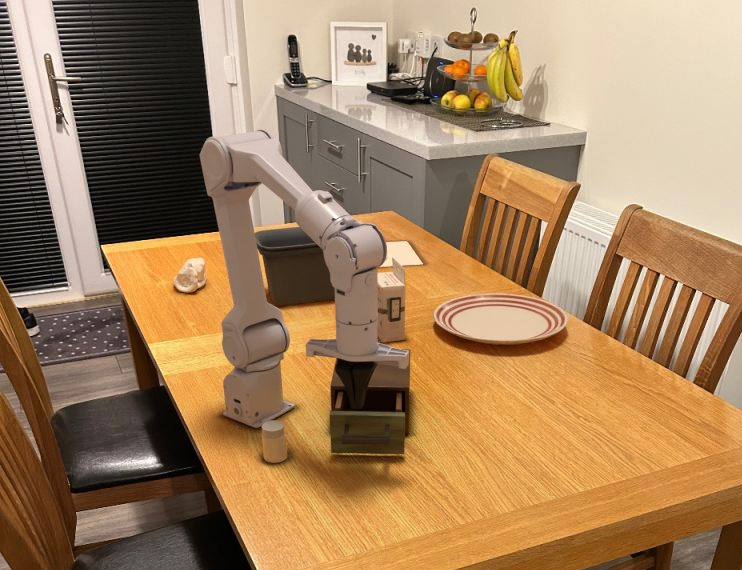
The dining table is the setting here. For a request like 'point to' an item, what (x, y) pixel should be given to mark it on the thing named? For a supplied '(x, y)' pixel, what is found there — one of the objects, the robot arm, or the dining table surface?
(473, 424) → the dining table surface
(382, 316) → the ink box
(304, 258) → the storage bin
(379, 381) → the cabinet
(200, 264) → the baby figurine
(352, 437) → the drawer
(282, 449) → the salt shaker
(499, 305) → the dinner plate
